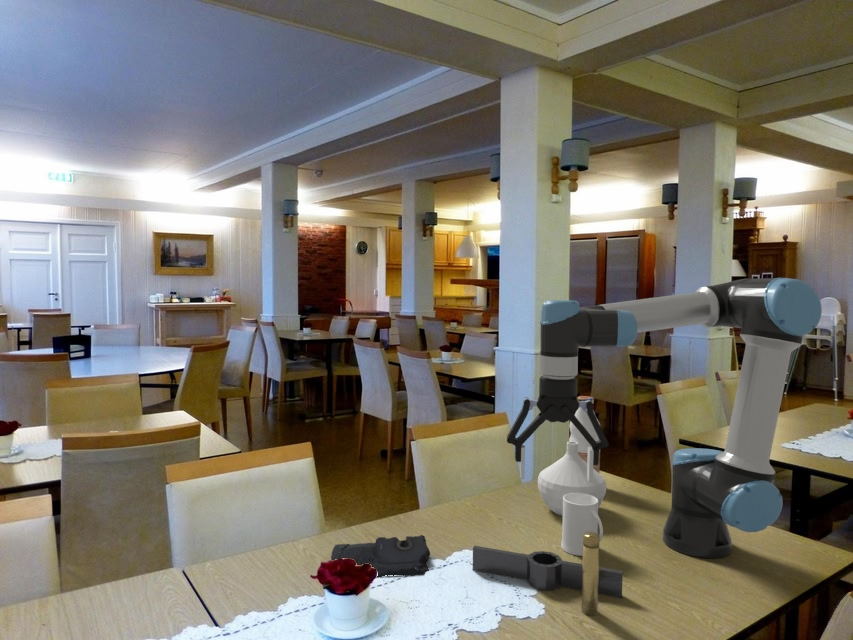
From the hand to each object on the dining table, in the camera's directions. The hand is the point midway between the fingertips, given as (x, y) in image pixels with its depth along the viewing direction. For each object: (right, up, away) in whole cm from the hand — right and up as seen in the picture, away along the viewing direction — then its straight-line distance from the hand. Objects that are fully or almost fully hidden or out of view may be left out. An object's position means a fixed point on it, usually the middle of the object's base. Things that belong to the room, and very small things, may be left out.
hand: (555, 478), depth 122 cm
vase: (+13, -20, +42) cm, 48 cm away
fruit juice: (+22, -19, +61) cm, 68 cm away
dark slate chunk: (-37, -22, +12) cm, 45 cm away
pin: (+5, -23, -8) cm, 25 cm away
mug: (+10, -22, +17) cm, 30 cm away
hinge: (-2, -22, +3) cm, 23 cm away
